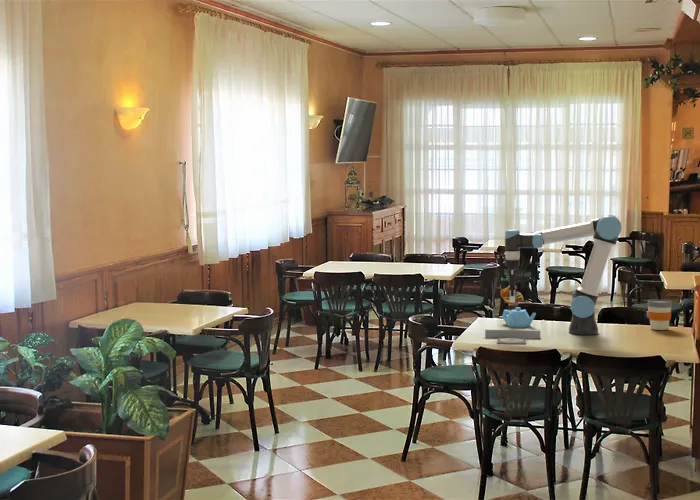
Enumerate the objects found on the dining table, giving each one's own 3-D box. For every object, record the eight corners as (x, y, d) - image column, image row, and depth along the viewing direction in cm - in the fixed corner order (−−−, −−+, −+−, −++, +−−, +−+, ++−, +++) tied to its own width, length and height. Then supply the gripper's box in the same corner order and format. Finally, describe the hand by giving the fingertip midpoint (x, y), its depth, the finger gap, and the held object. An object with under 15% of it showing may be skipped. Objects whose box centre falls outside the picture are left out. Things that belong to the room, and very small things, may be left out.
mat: (525, 339, 424) (525, 338, 424) (525, 344, 410) (525, 343, 410) (497, 338, 427) (497, 337, 427) (497, 343, 413) (497, 342, 413)
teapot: (526, 323, 472) (526, 305, 472) (536, 328, 458) (536, 308, 457) (500, 325, 470) (500, 306, 469) (510, 329, 455) (510, 309, 454)
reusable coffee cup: (646, 329, 446) (646, 302, 444) (647, 326, 457) (647, 299, 456) (671, 330, 441) (671, 302, 440) (672, 327, 452) (672, 299, 451)
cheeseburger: (524, 302, 432) (517, 285, 431) (505, 309, 435) (497, 292, 434) (524, 298, 442) (517, 281, 441) (505, 304, 445) (498, 287, 444)
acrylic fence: (540, 338, 427) (540, 330, 427) (540, 338, 426) (540, 330, 425) (485, 337, 432) (485, 329, 432) (485, 337, 431) (485, 329, 431)
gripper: (505, 257, 448) (505, 298, 450) (504, 261, 426) (504, 303, 428) (519, 257, 447) (519, 298, 448) (519, 261, 424) (519, 303, 426)
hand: (512, 300), depth 438 cm, fingers closed on cheeseburger, 10 cm apart
